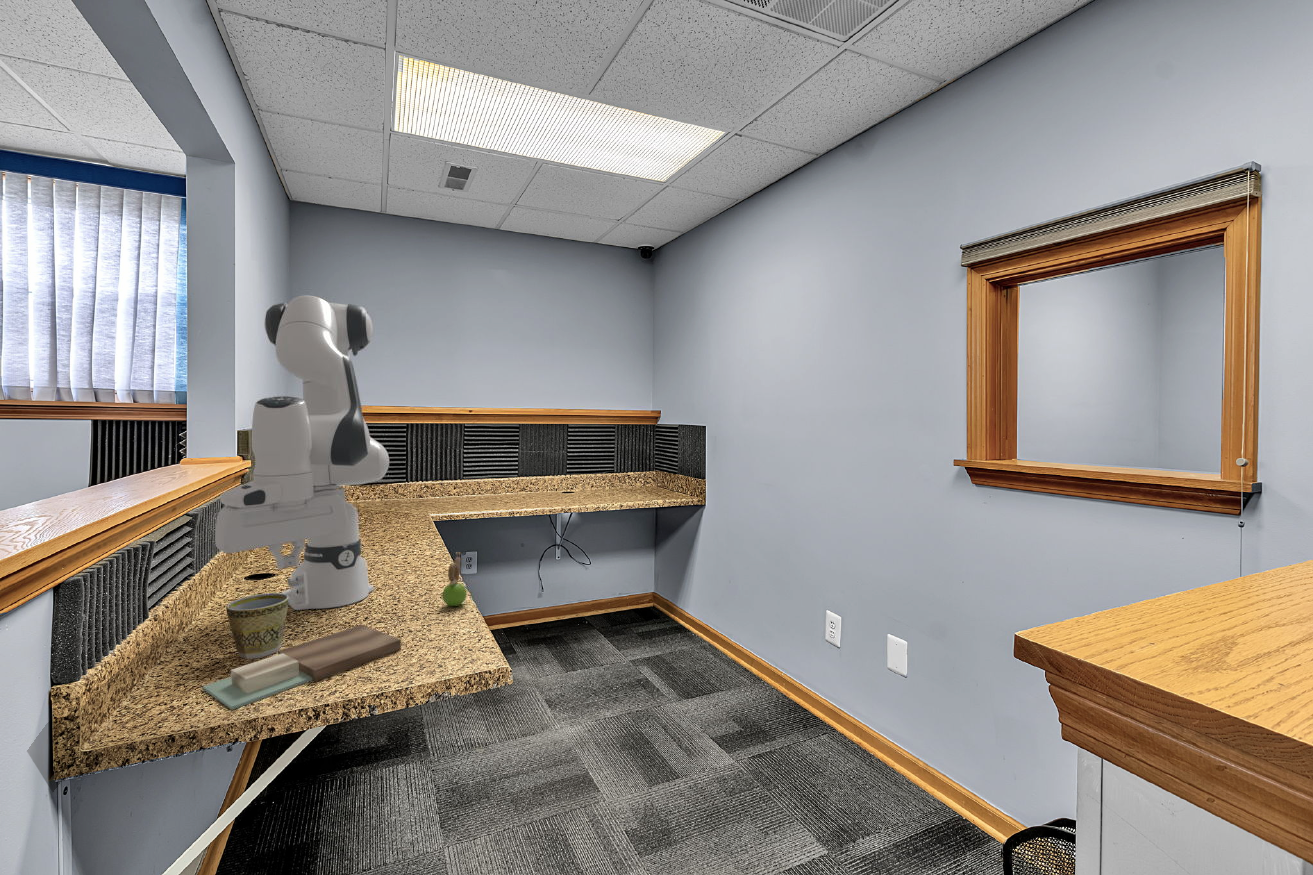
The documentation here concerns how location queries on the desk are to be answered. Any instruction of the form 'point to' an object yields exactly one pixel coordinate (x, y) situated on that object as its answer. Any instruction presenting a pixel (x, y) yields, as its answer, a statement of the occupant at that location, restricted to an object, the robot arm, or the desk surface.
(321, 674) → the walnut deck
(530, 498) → the desk surface
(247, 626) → the ceramic cup
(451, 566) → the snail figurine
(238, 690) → the rubber mat
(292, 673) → the ash tile
